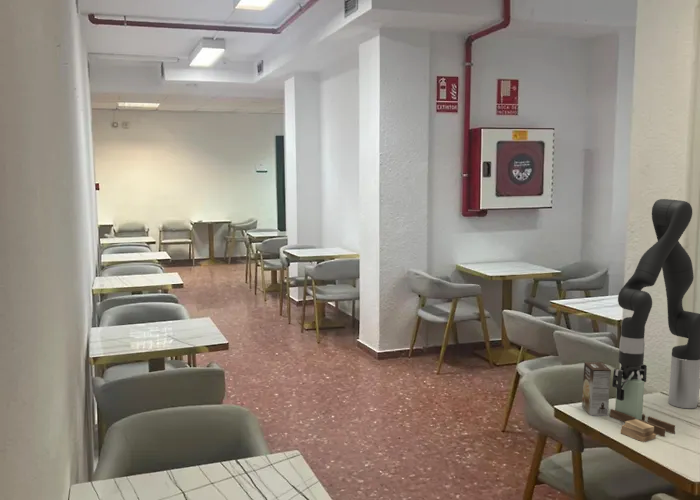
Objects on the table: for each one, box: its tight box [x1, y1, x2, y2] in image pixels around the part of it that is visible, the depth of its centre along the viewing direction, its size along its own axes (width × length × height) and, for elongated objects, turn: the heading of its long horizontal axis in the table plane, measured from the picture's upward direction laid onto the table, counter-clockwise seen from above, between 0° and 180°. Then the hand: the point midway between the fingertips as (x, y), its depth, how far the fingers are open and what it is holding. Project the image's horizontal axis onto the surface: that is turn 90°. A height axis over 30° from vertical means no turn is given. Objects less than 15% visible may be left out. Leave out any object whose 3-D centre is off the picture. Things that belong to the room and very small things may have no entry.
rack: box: [609, 408, 676, 438], centre depth 216 cm, size 6×20×2 cm, turn 31°
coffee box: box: [581, 361, 612, 417], centre depth 227 cm, size 9×6×16 cm
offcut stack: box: [620, 419, 657, 443], centre depth 206 cm, size 6×8×4 cm
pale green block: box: [614, 377, 645, 420], centre depth 219 cm, size 3×8×14 cm, turn 31°
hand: (628, 397), depth 219 cm, fingers open, 8 cm apart
